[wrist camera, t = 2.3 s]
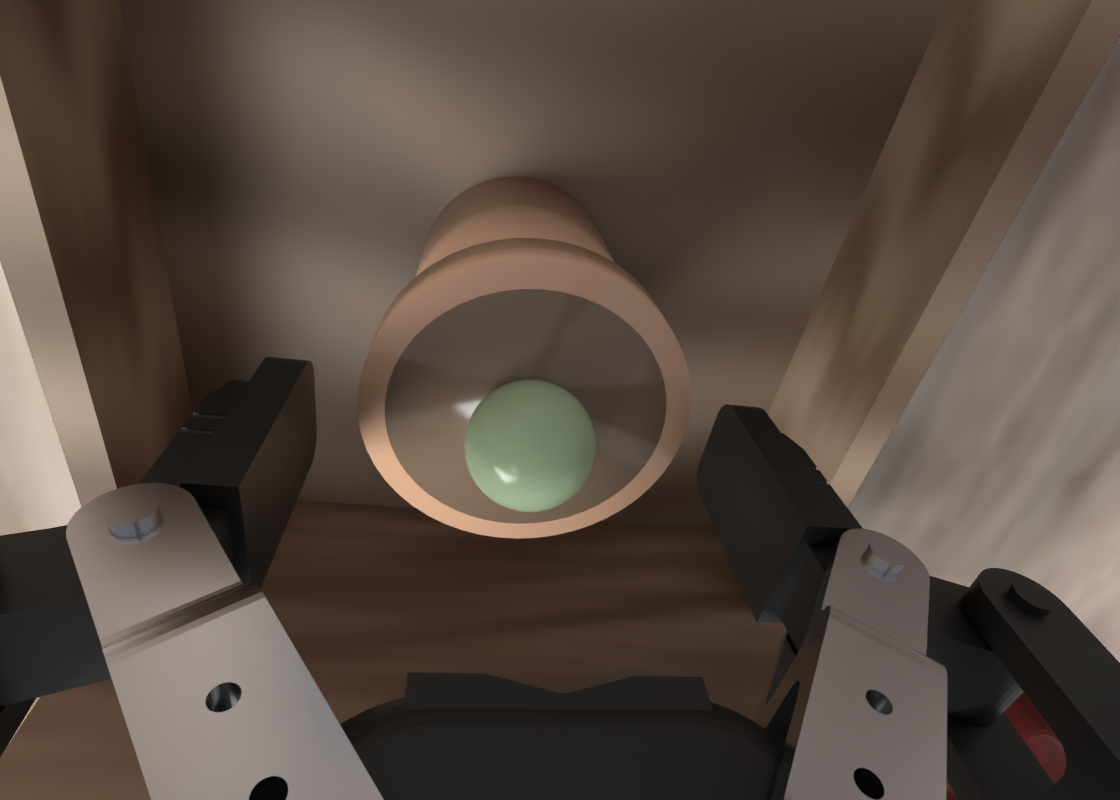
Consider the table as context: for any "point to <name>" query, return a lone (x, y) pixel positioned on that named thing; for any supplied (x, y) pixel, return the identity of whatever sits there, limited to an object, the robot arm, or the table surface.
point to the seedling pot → (522, 371)
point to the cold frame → (397, 245)
